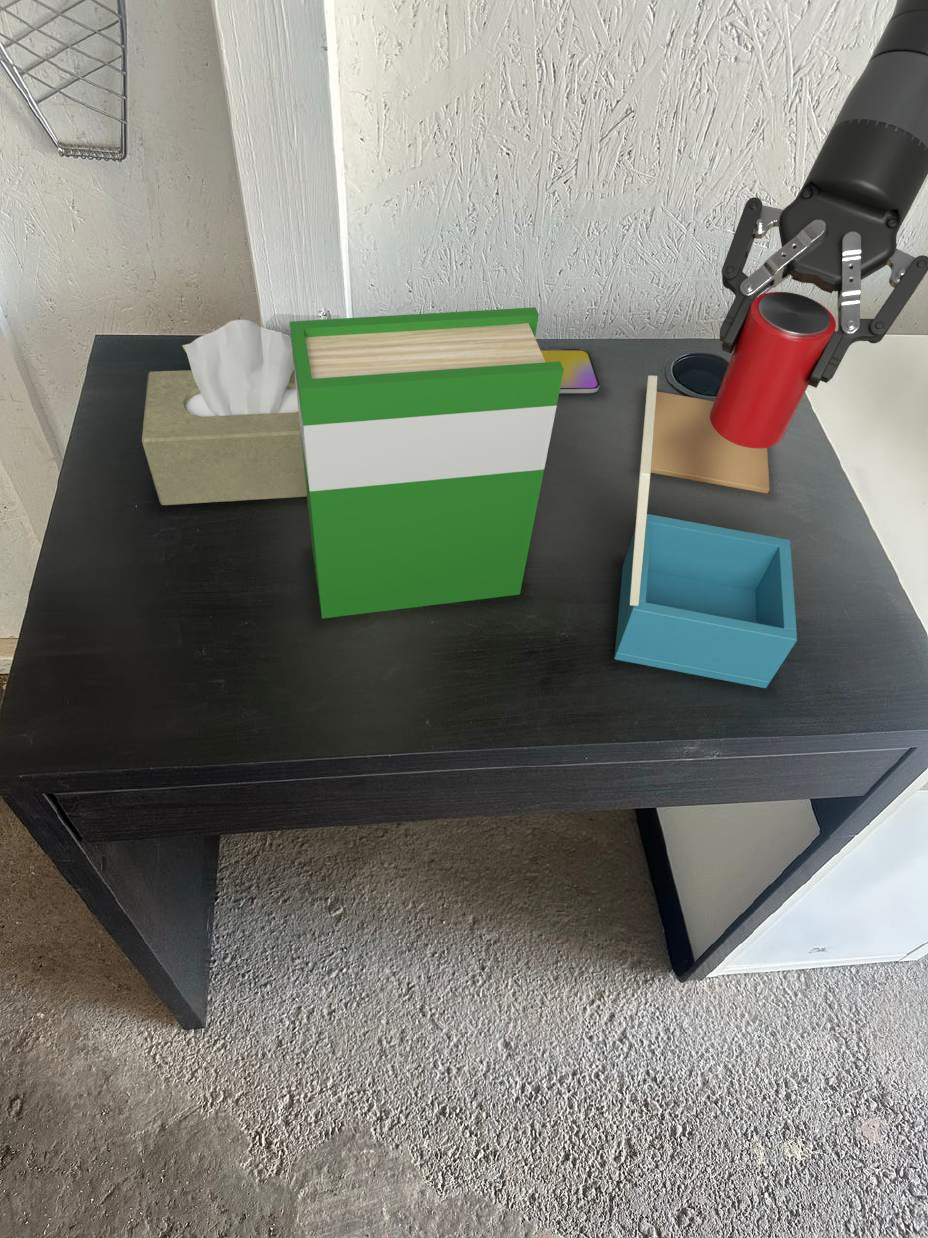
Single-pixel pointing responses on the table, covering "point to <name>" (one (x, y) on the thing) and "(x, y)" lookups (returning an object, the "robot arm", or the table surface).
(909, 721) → the table surface
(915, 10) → the robot arm
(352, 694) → the table surface
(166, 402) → the tissue box
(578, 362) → the smartphone
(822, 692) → the table surface
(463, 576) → the hardback book
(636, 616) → the teal open box
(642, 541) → the lid
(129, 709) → the table surface
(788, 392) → the drinks can
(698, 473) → the cork mat
